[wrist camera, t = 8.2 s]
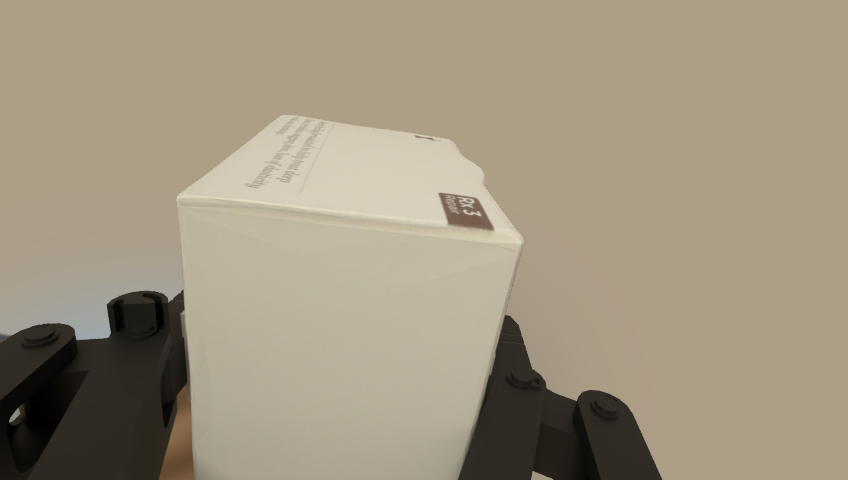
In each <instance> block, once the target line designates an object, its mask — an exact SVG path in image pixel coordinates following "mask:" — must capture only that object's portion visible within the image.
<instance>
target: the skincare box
mask: <svg viewBox="0 0 848 480" xmlns="http://www.w3.org/2000/svg"><path fill="white" fill-rule="evenodd" d="M484 178H485V175H484V173H483V171H482V170H481V169H480V168H479V167H478V166H477V165H475V164H474V163H473V162H471V161H469V160H467V159H465V158H464V157H463V156H462V154H461V153H460V151H459V150H458V148H457V146H456V145H455V143H454V142H453V141H451V140H449V139H445V138H438V137H432V136H425V135H419V134H412V133H406V132H400V131H393V130H385V129H377V128H370V127H362V126H355V125H349V124H342V123H336V122H331V121H325V120H320V119H313V118H309V117H303V116H291V115H281V116H280V117H278V118H277V119H276V120H274V121H273V122H272V123H271V124H270V125H268V126H267V127H266V128H265V129H264V130H262V131H261V132H260V133H259V134H257V135H256V136H255V137H254V138H252V139H251V140H250V141H249V142H247V143H246V144H245V145H243V146H242V147H241V148H240V149H238V150H237V151H236V152H234V153H233V154H232V155H230V156H229V157H228V158H227V159H225V160H224V161H223V162H222V163H220V164H219V165H218V166H217V167H215V168H214V169H213V170H211V171H210V172H209V173H207V174H206V175H205V176H204V177H202V178H201V179H200V180H198V181H197V182H195V183H194V184H192V185H191V186H190V187H188V188H187V189H186V190H184V191H183V192H182V193H180V194H179V195H178V196H177V212H178V221H179V231H180V241H181V257H182V272H183V290H184V306H185V320H186V331H187V343H188V355H189V367H190V387H191V414H192V451H193V467H194V480H458V477H459V474H460V472H461V469H462V466H463V463H464V460H465V458H466V455H467V452H468V449H469V446H470V444H471V440H472V437H473V433H474V429H475V426H476V422H477V418H478V414H479V411H480V407H481V403H482V399H483V396H484V392H485V388H486V385H487V381H488V377H489V374H490V370H491V366H492V363H493V359H494V355H495V351H496V348H497V344H498V340H499V337H500V333H501V329H502V325H503V321H504V317H505V313H506V309H507V306H508V302H509V298H510V294H511V291H512V287H513V283H514V279H515V275H516V272H517V268H518V265H519V261H520V256H521V253H522V250H523V246H524V238H523V237H522V236H521V235H520V233H519V232H518V231H517V230H516V228H515V227H514V226H513V225H512V223H511V222H510V221H509V220H508V218H507V217H506V215H505V214H504V213H503V211H502V210H501V209H500V207H499V206H498V205H497V203H496V202H495V200H494V199H493V198H492V196H491V195H490V193H489V192H488V191H487V189H486V188H485V186H484Z"/></svg>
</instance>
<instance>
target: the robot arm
mask: <svg viewBox="0 0 848 480" xmlns="http://www.w3.org/2000/svg"><path fill="white" fill-rule="evenodd" d="M107 309H108V317H109V323H110V330H111V334H110V336H109V338H104V339H89V340H76V336H75V330H74V329H73V328H72V327H71V326H69V325H65V324H60V323H58V324H42V325H36V326H32V327H30V328H27V329H25V330H21V331H19V332H18V333H16V334H14V335H12V336H10V337H9V338H8V339H6V340H5V341H3V342H2V343H1V344H0V480H159V476H160V473H161V469H162V465H163V462H164V458H165V454H166V451H167V447H168V443H169V440H170V436H171V432H172V428H173V425H174V421H175V417H176V414H177V410H178V407H177V395H178V393H179V392H180V391H181V390H182V388H183V387H184V386H185V385H186V390H187V401H191V387H190V367H189V355H188V343H187V331H186V320H185V306H184V290H182V291H181V294H180V293H179V294H178V295H177V296H176V297H174V299H173V300H171V301H170V302H169V303H168V298H167V297H166V296H165V295H164V294H162V293H158V292H155V291H139V292H132V293H128V294H124V295H121V296H119V297H117V298H115V299H113V300H111V301H110V302H109V303H108V304H107ZM17 408H19V411H20V415H19V416H18V417H17V418H16V419H15V420H14V421H12V422H11V423H10V422H9V420H10V418H11V416H12V415H13V413H14V412H15V411H16V410H17ZM532 471H534V472H537V473H539V474H542V475H544V476H547V477H550V478H552V479H553V480H662V478H661V476H660V474H659V471H658V469H657V467H656V465H655V462H654V460H653V458H652V456H651V454H650V451H649V449H648V447H647V445H646V442H645V440H644V438H643V436H642V433H641V431H640V429H639V427H638V425H637V422H636V420H635V418H634V416H633V414H632V412H631V411H630V409H629V408H628V406H627V405H626V404H624V403H623V402H622V401H621V400H620V399H618V398H616V397H614V396H612V395H610V394H608V393H605V392H601V391H596V390H588V391H585V392H583V393H581V395H580V396H579V397H578V400H577V401H575V400H572V399H569V398H566V397H564V396H561V395H558V394H556V393H553V392H552V391H550V390H548V389H547V388H546V382H545V380H544V379H543V378H542V376H541V375H540V374H538V373H537V372H536V371H535V370H533V369H532V367H531V364H530V360H529V357H528V354H527V351H526V347H525V345H524V341H523V338H522V337H521V331H520V328H519V325H518V324H517V323H516V322H515V321H514V320H513V319H512V318H511V317H510V316H507V315H505V317H504V321H503V325H502V329H501V333H500V337H499V340H498V344H497V348H496V351H495V355H494V359H493V363H492V366H491V370H490V374H489V377H488V381H487V385H486V388H485V392H484V396H483V399H482V403H481V407H480V411H479V414H478V418H477V422H476V426H475V429H474V433H473V438H472V441H471V444H470V446H469V449H468V452H467V455H466V458H465V460H464V463H463V466H462V469H461V472H460V474H459V477H458V480H531V476H532Z"/></svg>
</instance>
